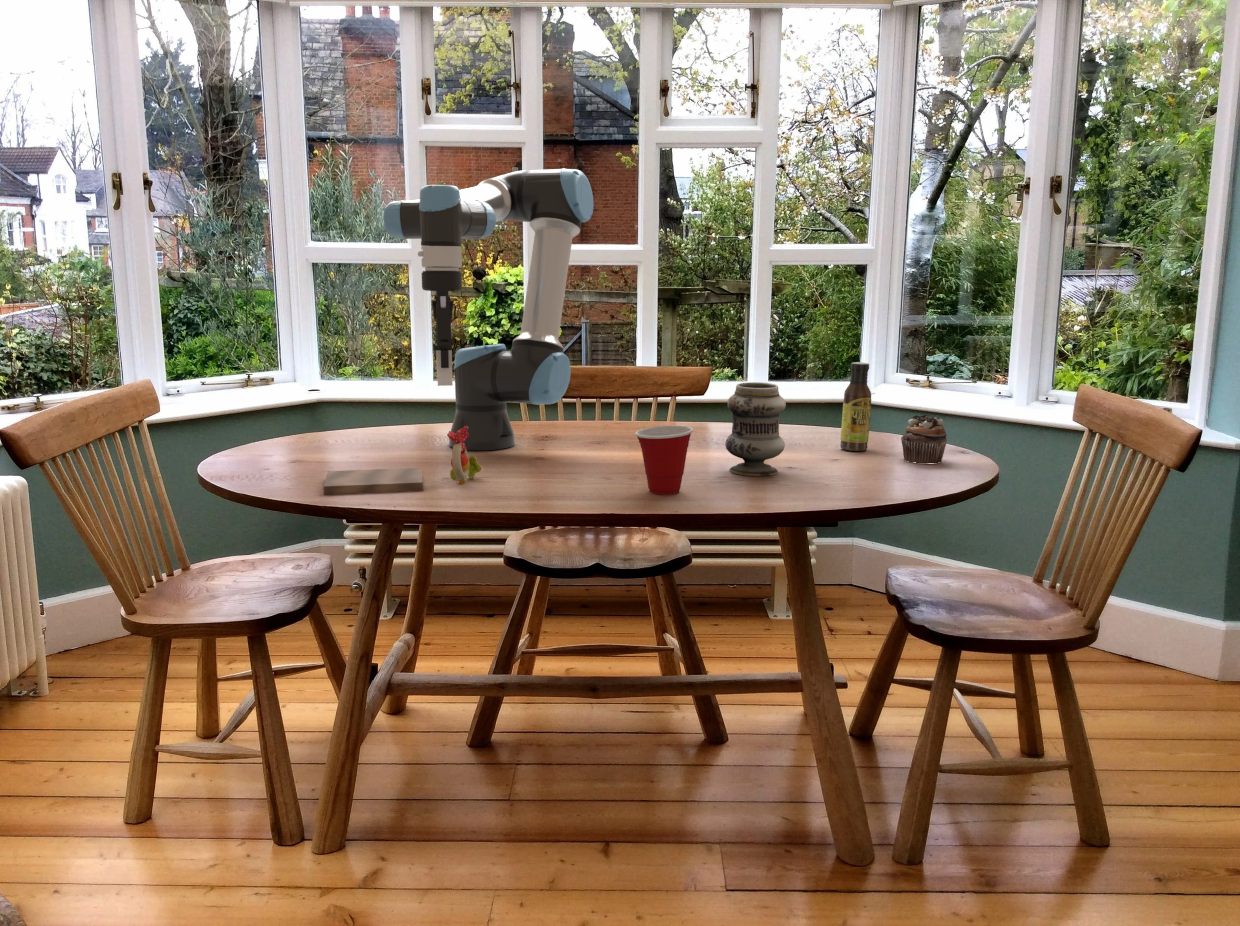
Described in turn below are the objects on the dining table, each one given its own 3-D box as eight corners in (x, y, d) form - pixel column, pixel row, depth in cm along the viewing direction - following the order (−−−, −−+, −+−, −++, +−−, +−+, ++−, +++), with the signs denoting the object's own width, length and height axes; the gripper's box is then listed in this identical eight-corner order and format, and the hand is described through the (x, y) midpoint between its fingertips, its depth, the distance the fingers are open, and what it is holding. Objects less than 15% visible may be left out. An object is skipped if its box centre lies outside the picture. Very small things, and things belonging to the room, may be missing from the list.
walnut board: (420, 474, 209) (420, 467, 209) (423, 490, 196) (422, 482, 195) (327, 478, 205) (327, 471, 205) (323, 494, 192) (323, 486, 191)
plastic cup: (630, 486, 200) (631, 424, 198) (685, 484, 201) (687, 423, 199) (638, 498, 189) (639, 434, 187) (697, 497, 191) (698, 432, 188)
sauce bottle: (850, 452, 234) (854, 364, 230) (834, 448, 240) (838, 362, 236) (874, 451, 237) (878, 363, 233) (857, 446, 242) (862, 361, 239)
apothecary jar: (746, 480, 206) (748, 389, 202) (713, 469, 216) (715, 382, 213) (795, 474, 211) (799, 386, 208) (761, 464, 222) (764, 379, 218)
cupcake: (953, 460, 226) (956, 415, 224) (932, 467, 219) (935, 420, 217) (913, 454, 233) (915, 410, 231) (891, 460, 226) (894, 415, 224)
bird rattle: (478, 493, 202) (483, 467, 210) (474, 446, 196) (478, 420, 203) (446, 494, 202) (452, 467, 210) (440, 446, 196) (446, 420, 203)
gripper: (421, 268, 208) (424, 374, 212) (421, 270, 184) (424, 389, 188) (459, 269, 210) (461, 374, 214) (464, 270, 186) (466, 388, 190)
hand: (444, 381), depth 201 cm, fingers open, 13 cm apart
